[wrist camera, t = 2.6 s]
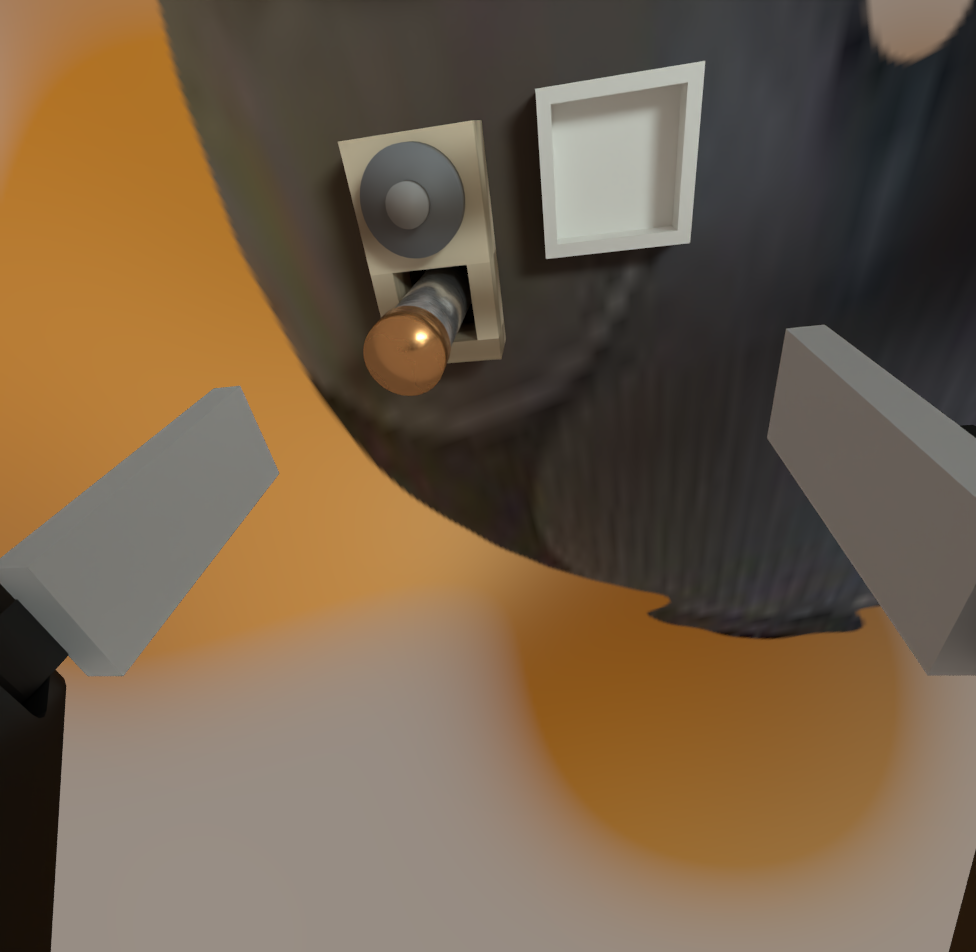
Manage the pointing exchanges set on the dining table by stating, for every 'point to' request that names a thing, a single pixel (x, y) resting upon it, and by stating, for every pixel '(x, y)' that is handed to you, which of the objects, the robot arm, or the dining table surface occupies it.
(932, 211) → the dining table surface
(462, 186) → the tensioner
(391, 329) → the pin
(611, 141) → the tray
